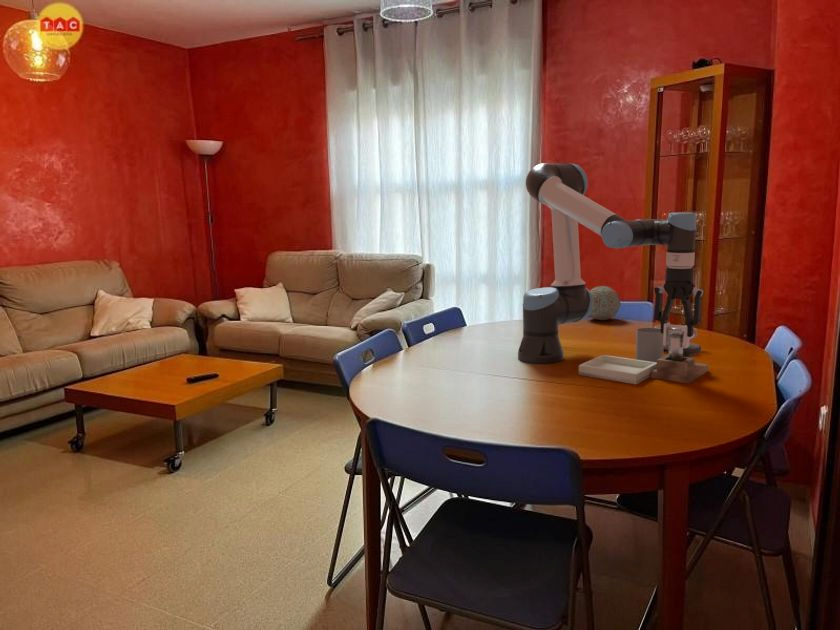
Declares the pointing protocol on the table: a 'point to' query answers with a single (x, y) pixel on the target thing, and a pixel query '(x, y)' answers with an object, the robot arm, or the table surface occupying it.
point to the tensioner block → (680, 367)
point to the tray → (618, 369)
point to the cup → (649, 344)
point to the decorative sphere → (604, 303)
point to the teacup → (678, 326)
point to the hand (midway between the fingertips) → (675, 345)
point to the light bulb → (675, 343)
